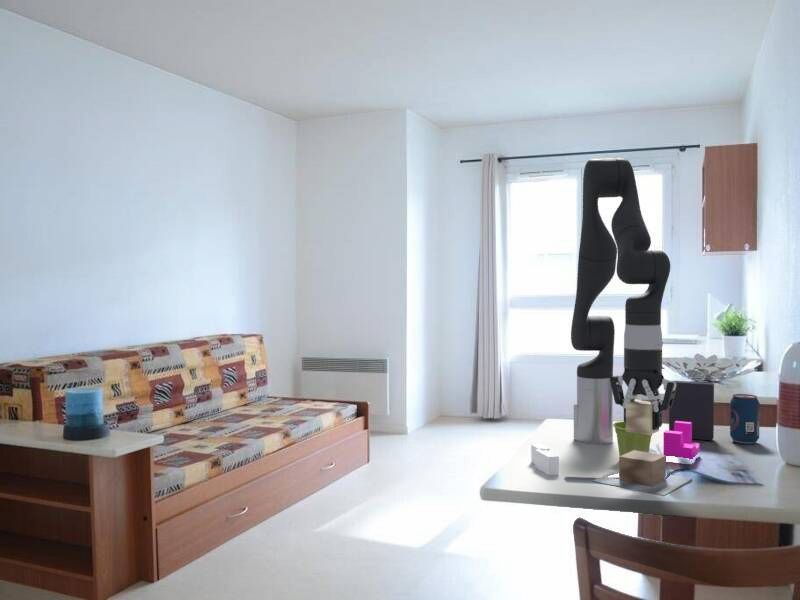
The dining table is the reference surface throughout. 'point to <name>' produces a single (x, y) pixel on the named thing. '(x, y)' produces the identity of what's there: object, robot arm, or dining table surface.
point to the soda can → (744, 418)
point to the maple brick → (639, 417)
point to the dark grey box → (694, 408)
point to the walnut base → (653, 490)
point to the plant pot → (630, 440)
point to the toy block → (680, 441)
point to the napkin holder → (544, 459)
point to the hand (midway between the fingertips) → (642, 427)
